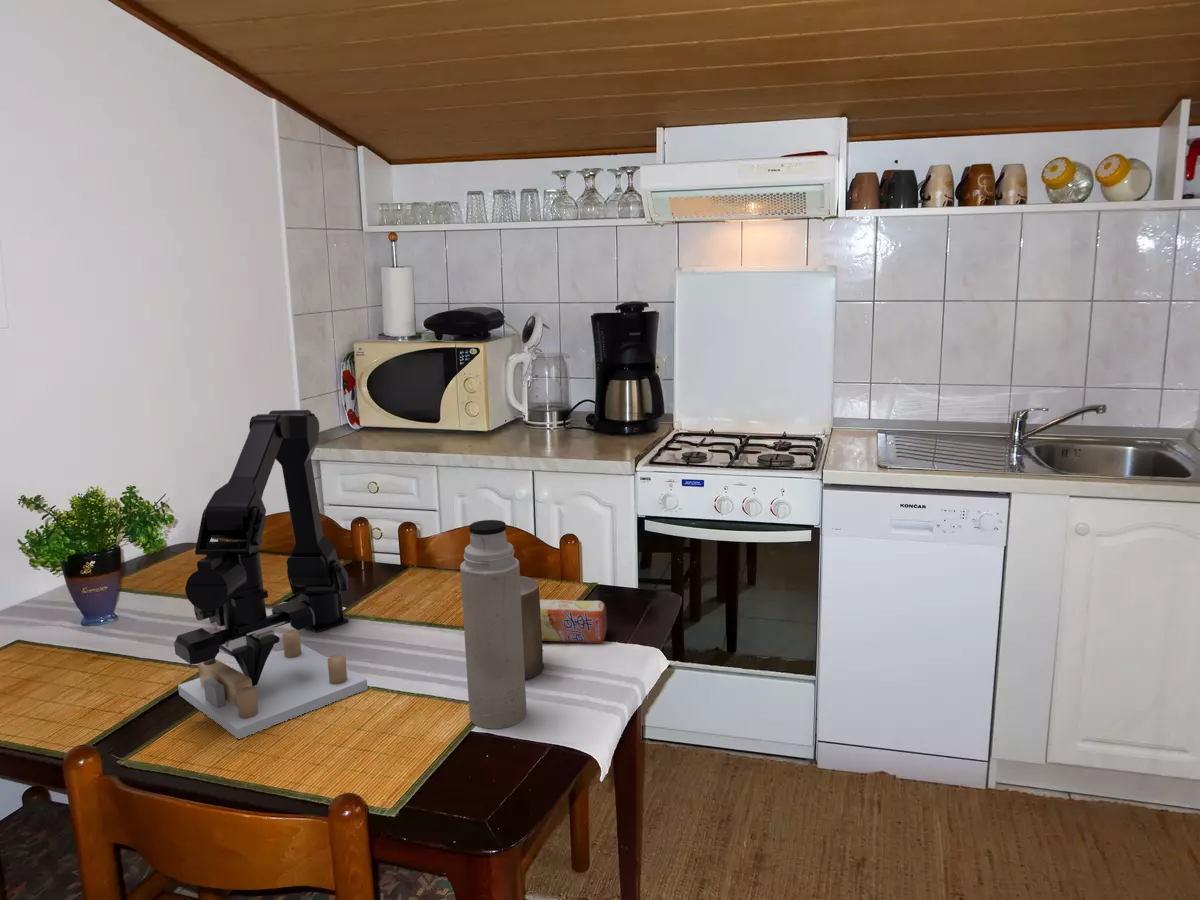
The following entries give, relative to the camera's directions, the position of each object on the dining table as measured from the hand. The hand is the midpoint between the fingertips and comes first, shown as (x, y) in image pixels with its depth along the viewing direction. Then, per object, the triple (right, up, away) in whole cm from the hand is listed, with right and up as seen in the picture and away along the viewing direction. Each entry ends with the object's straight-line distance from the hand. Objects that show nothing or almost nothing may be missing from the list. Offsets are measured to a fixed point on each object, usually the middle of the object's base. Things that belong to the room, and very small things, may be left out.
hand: (253, 685), depth 138 cm
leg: (-4, -1, 0) cm, 4 cm away
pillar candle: (+37, 0, +9) cm, 38 cm away
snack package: (+41, +2, +21) cm, 47 cm away
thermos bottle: (+36, -3, -6) cm, 37 cm away
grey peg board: (+2, -2, +3) cm, 4 cm away
